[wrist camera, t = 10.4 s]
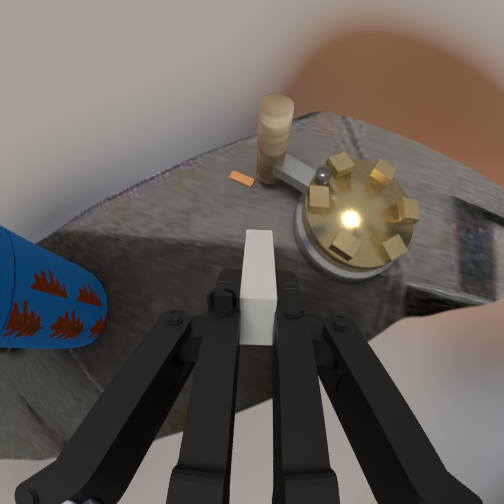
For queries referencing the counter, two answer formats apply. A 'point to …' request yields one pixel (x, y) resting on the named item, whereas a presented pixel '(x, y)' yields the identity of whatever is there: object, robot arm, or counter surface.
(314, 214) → the studded brass turntable
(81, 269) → the thermos
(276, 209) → the counter surface
